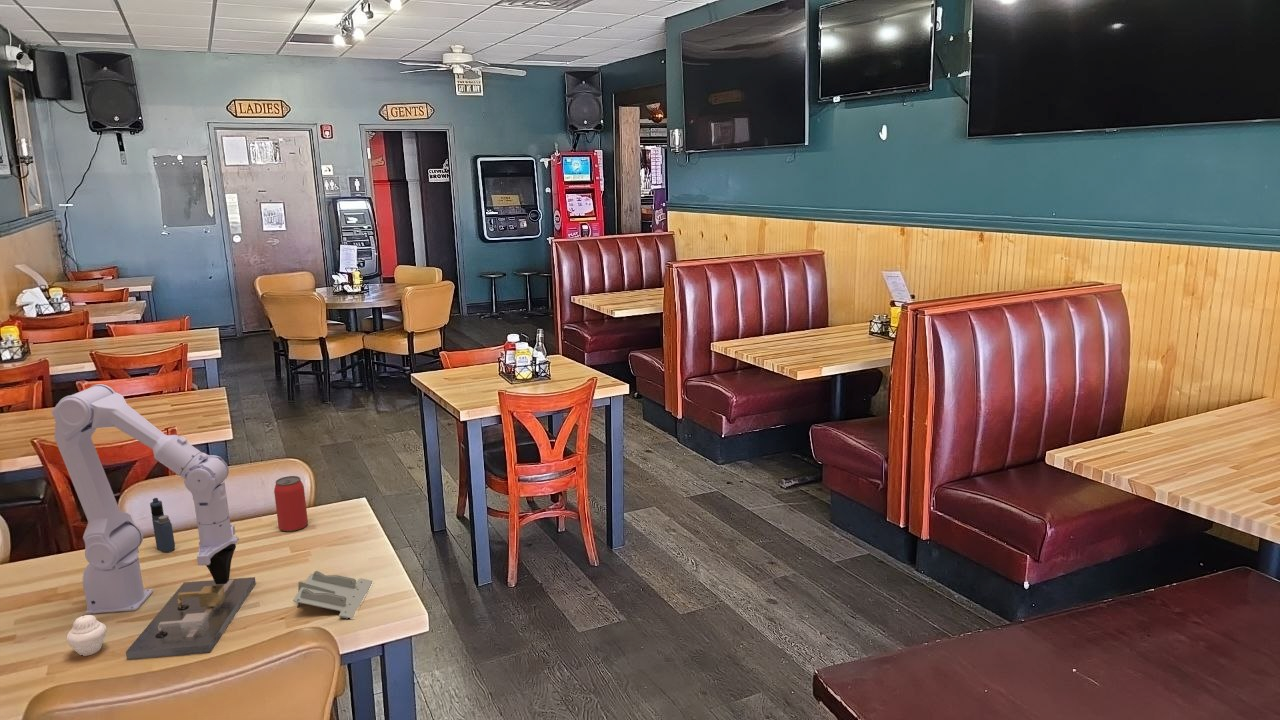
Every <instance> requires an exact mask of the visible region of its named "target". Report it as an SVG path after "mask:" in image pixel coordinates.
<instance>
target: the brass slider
mask: <svg viewBox="0 0 1280 720" xmlns="http://www.w3.org/2000/svg"><path fill="white" fill-rule="evenodd" d="M192 597H199V602H200V607H210V606H220V605H221V604H222V602H223V601H224V599H225V591H224V585H216V586H204V587H203V588H202V590H201V591H196V592H182V593H179V594H178V605H179V609H181V608H182V601H181V598H192Z"/></svg>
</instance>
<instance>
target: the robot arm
mask: <svg viewBox="0 0 1280 720" xmlns="http://www.w3.org/2000/svg"><path fill="white" fill-rule="evenodd" d="M51 414H52V416H53V419H54V421H55V423H54V424H55V425H54V440H55V443H56V445H57V448H58V451H59V452H60V455H61V458H62V460H63V463H64V465H65V468H66V469H67V473H68V474H69V477H70V480H71V483H72V485H73V487H74V490H75V493H76V494H77V495H76V496H77V497H78V500H79V502H80V504H81V507H82V510H83V513H84V515H85V517H86V519H87V525H86V528H85V530H84V533H83V536H82V539H83V543H84V548H85V550H84V556H85V559H86V561H87V562H88V564H87V565H86V566H85V569H84V570H83V576H82V586H83V591H84V598H85V603H86V607H87V609H86V611H85V613H86V614H85V615H92V614H100V613H101V614H103V613H114V612H126V611H127V612H129V611H136V610H138V609H139V608H140V607H141V605H143V603H144V602H145V601H146V600H147V599H148V598H149V596H150V595H151V594H152V593H153V592H154V588H148V589H146V588H144V584H143V583H144V582H143V576H142V570H141V565H140V564H141V563H140V559H139V553H140V551H139V548H140V546H141V545H142V543H143V540H144V534H143V531H142V530H141V528H140V526H138V525H137V524H136V523H135V522H134V521H135V520H133V518H132V515H131V514H130V513H128V512H125V511H122V510H120V508H119V505H118V502H117V500H116V497H115V495H114V492H113V489H112V487H111V484H110V482H109V479H108V477H107V474H106V472H105V469H104V467H103V465H102V464H103V463H102V462H101V460H100V457H99V454H98V452H97V449H96V447H95V445H94V442H93V441H94V440H93V439H92V436H93V434H95V432H96V430H97V428H115V429H118V430H119V431H121V432H123V433H124V434H126V435H128V436H129V437H131V438H133V439H135V440H136V441H138V442H140V443H142V444H143V445H145V446H146V447H148V448H150V449H151V450H152V452H153V458H154V459H155V460H156V461H158V462H159V463H160V464H162V465H163V466H165V468H166V467H167V468H168V469H169V470H171V471H172V472H173V473H175V474H176V475H177V476H179V477H181V478H182V479H184V480H183V482H184V487H186V489H187V490H188V491H189V492H190V493H191V496H192V500H193V504H194V510H195V511H194V512H195V516H196V523H197V524H196V525H197V530H198V539H199V542H198V554H197V555H196V561H197V566H198V567H199V566H200V567H201V566H206V567H207V569H208V571H209V573H210V575H211V576H212V580H214V581H215V583H216V585H217V584H227V582H228V581H229V579H230V575H231V574H230V573H231V568H232V567H231V566H232V560H233V555H234V553H235V550H236V548H237V545H236V544H237V543H238V542H239V540H240V539H239V536H235V534H236V528H235V524H231V519H230V518H231V517H230V511H229V510H230V509H229V503H228V498H227V497H228V496H227V490H226V484H225V480H226V479H228V477H229V472H230V471H229V466H228V464H227V462H225V460H224V459H223V458H222V457H221V456H218V455H216V454H215V455H213V454H212V455H211V454H210V455H209V454H207V453H206V452H202V451H200V449H198V448H196V447H195V446H193V445H192V444H191V443H189V442H187V441H188V439H187V438H186V437H184V435H183V436H179V435H177V434H169V435H168V434H165V433H164V432H163V431H161V430H160V429H158V427H156V426H155V425H154V424H152V423H151V422H150V421H148V419H146V418H145V417H144V416H143V415H141V413H139V412H137V410H135V409H133V408H132V407H131V406H130V405H129V404H127V401H126V400H125V397H124V396H123V395H122V394H121V393H119V392H116V391H115V390H114V389H113V388H112V387H111V386H109V385H106V384H102V383H98V384H93V385H91V386H89V388H85V389H83V390H81V391H79V392H76V393H73V394H71V395H66V396H64V397H63V398H61V399H60V400H59V401H58V403H56V405H55V407H54V408H53V409H52V411H51Z"/></svg>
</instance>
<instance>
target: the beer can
mask: <svg viewBox="0 0 1280 720" xmlns="http://www.w3.org/2000/svg"><path fill="white" fill-rule="evenodd" d="M273 494H274V501H275V509H276V517H277V523H278V524H277V526H278V528H279V530H280V531H283V532H296V531H299V530H302V529H304V528H305V527H306V526H307V525H308V524H309V523H308V521H309V519H308V513H307V512H308V511H307V503H306V502H307V501H306V495H305V487H304V484H303V482H302V480H301V477H300V476H298V475H289V476H283V477H280V478H278V479H277V480H275V485H274V489H273Z"/></svg>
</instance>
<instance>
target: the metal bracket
mask: <svg viewBox="0 0 1280 720" xmlns="http://www.w3.org/2000/svg"><path fill="white" fill-rule="evenodd" d="M372 582H374V581H373V580H370V579H365V578H359V579H357V580H356V578H354V577H348V576H344V575H339V574H327V575H326V574H324V573H323V572H320V571H319V570H315V571H314V572H313V573H310V574H309V575H308V577H307V578H306V580H305V581H299V582H298V585H297V586H298V587H297V589H298V592H297V593H296V595H295V596H294V598H293V599H292V602H293V603H297V606H296V608H297V609H298V608H299V607H300V605H301V604H303V605H308V606H312V607H313V606H314V607H317V608H323V609H327V610H334V611H338V612H340V613H339V614H338V617H339V618H342V619H347V620H349V619H348V618H353V617H354V614H355V611H356V610H357V608H358V607H359V606H360V603H361V601H362V600H363V598H364V596H365V594H366V593H367V591H368V590H369V588H370V586H371V584H372ZM369 591H370V590H369ZM369 591H368V592H369ZM367 594H368V593H367Z"/></svg>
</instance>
